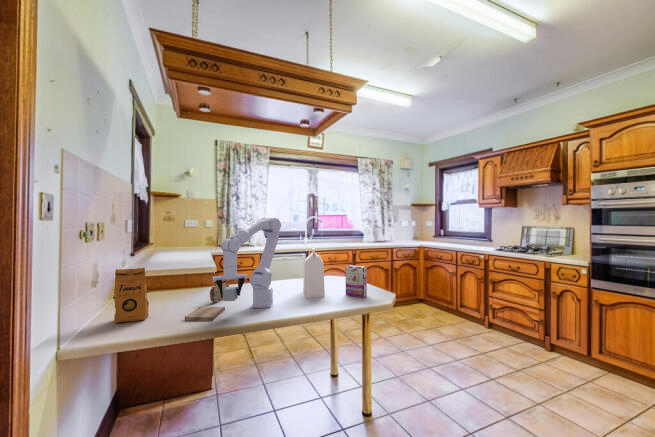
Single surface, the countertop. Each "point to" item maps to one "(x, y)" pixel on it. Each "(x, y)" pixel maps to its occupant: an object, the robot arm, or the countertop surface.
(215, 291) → the tin
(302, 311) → the countertop surface
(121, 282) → the coffee package
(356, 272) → the candy bar box
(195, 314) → the walnut board
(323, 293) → the milk
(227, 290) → the slate cube
